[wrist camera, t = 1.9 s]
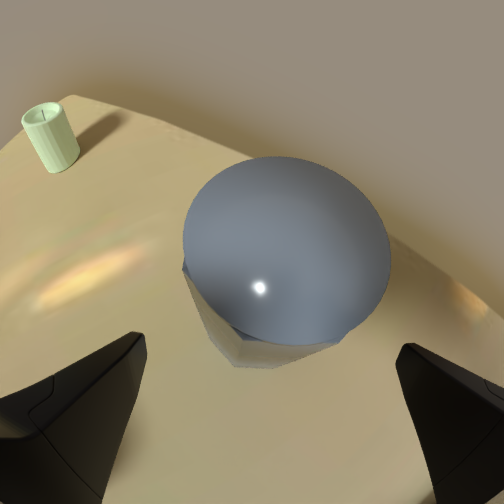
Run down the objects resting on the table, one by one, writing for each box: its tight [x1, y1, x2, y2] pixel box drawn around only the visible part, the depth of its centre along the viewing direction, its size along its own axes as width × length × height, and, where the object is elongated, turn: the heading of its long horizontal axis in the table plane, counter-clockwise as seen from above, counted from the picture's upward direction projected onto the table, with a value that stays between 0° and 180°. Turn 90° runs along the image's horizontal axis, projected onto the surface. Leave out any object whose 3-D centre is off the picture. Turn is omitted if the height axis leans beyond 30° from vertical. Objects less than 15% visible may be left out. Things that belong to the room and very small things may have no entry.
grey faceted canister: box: [182, 157, 391, 369], centre depth 14 cm, size 7×7×12 cm
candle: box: [22, 102, 80, 173], centre depth 22 cm, size 5×5×8 cm
